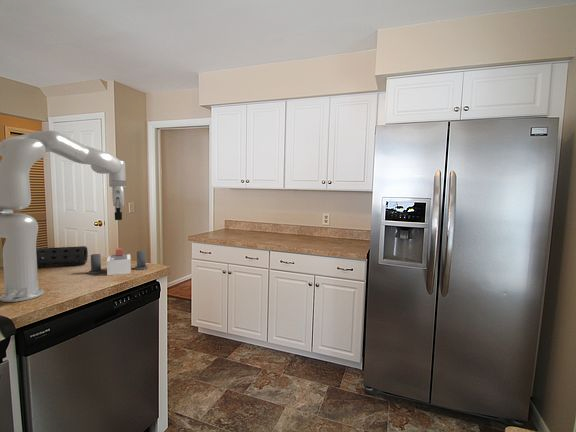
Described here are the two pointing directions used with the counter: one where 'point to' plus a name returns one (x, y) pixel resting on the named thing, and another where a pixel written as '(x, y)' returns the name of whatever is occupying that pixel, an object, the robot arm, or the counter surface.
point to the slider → (119, 252)
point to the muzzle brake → (61, 256)
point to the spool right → (141, 261)
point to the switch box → (118, 264)
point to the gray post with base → (95, 264)
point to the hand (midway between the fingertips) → (118, 219)
